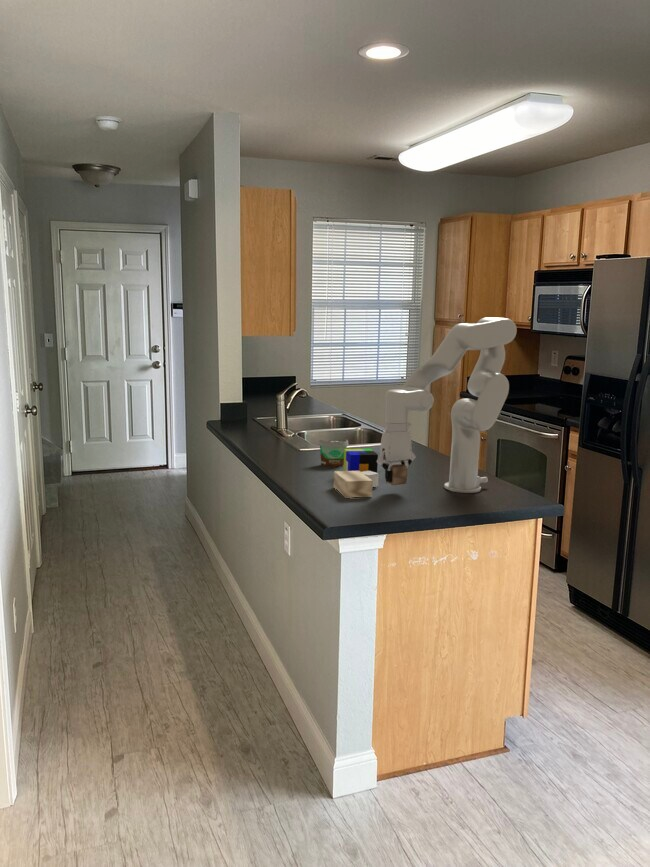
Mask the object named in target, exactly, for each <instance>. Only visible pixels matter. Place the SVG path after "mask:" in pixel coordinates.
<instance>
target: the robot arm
mask: <svg viewBox="0 0 650 867" xmlns="http://www.w3.org/2000/svg"><path fill="white" fill-rule="evenodd" d="M517 332H518V330H517V325H516V323H515V322H514V321H513V320H511V319H510V318H505V317H493V316H491V317H490V316H489V317H488V316H487V317H486V316H485V317H483V318H480V319H479V320H478V321H477V323H466V322H465V323H464V322H462V323H460V322H459V323H457V324H455V325H454V326H453V327H451V329H450V330H449V331H448V333H447V334H446V336H445V337H444V339H443V340H442V341H441V343H440V344H439V346H438V347H437V348H436V350H435V352H434V353H433V355H432V356H431V357H430V358H429V359H427V360H426V361H425V362H423V364H421V365H420V366H419V367H417V368H416V369H415V370H413V372H412V373H411V374H410V375H409V377H408V378H407V380H406V381H405V382H404V384H403V386H402V387H401V388H400V389H398V388H397V389H388V390H387V391H386V393H385V411H384V412H385V416H384V418H385V420H384V421H385V422H384V424H385V426H384V428H385V430H383V431H382V435H381V439H380V448H379V455H378V459H377V463H378V465H380V466H381V467H382V468H383V469H384V478H385V482H386V481H388V482H390V483H391V482H392V471H391V467H392V464H394V463H395V462H399V463H400V464H402V465H405V466H407V470H408V469H409V468H410V465H411V464H412V462H413V461H414V460H415V459H416V457H417V456H416V455H415V453H414V452H413V451H412V449H413V448H412V446H413V445H412V444H413V443H412V437H411V431H410V430H409V427H411V425H412V424H411V422H410V421H409V412H417V413H419V412H420V413H424V412H426V411H429V410H430V409H431V408H432V407H433V405H434V402H435V399H434V396H433V394H432V393H431V392H430V391H429V390H427V389H426V388H428V386H429V385H430V384H432V383H433V382H435V381H436V380H438V379H440V378H443V377H446V376H447V375H449V374H451V373H452V372H454V371H455V369H456V368H457V366H458V364H459V363H460V362H461V360H462V359H463V357H464V356H465V354H466V353H467V351H480V354H479V356H478V360H477V362H476V363H475V366H474V368H473V370H472V372H471V375H470V377H469V379H468V381H467V390H468V392H469V394H471V395H472V396H474V397H477V399H472V398H468V397H467V398H460V399H458V400H457V401H455V402H454V404H453V405H452V408H451V412H450V416H451V418H450V419H451V420H450V421H451V431H452V433H451V434H452V435H451V448H450V462H449V464H450V465H449V478H448V481H447V482H444V486H443V487H444V489H446V490H448V491H450V492H454V493H459V494H460V493H461V494H462V493H463V494H473V493H479V492H481V490H482V486H481V485H480V484H481V483H483V484H484V483H488V481H489V479H488V476H482V477H481V476H479V475H478V473H479V460H480V459H479V458H480V446H481V433H480V432H485V431H488V430H489V429H491V428H492V427H493V425H495V423H496V421H497V419H498V417H499V415H500V412H502V408H503V406H504V404H505V402H506V400H507V398H508V395H509V391H510V382H509V380H508V378H507V377H506V376H505V375H504V374H503V373H501V371H502V369H503V366H504V365H505V362H506V349H505V346H506V345H507V344H509V343H512V342H513V341H514V339H515V338H516V335H517Z"/></svg>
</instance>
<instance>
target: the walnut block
mask: <svg viewBox="0 0 650 867" xmlns="http://www.w3.org/2000/svg"><path fill="white" fill-rule="evenodd" d="M391 471H392V482H391V483H390V482H388V481H386V480H385V483H387V484H389V485H391V486H399V485H406V484H407V480H408V479H407V477H408V469H407V466H405V465H402V464H401V462H398V463H392V467H391Z"/></svg>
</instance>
